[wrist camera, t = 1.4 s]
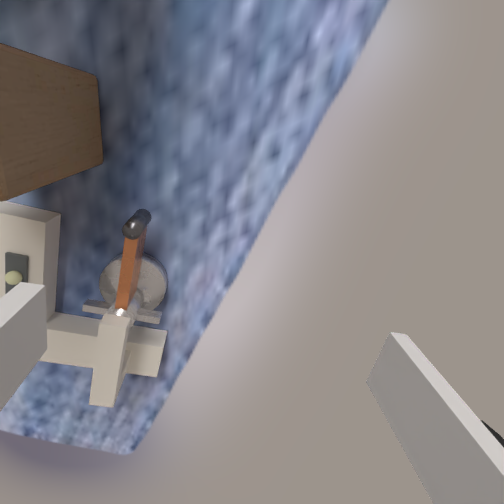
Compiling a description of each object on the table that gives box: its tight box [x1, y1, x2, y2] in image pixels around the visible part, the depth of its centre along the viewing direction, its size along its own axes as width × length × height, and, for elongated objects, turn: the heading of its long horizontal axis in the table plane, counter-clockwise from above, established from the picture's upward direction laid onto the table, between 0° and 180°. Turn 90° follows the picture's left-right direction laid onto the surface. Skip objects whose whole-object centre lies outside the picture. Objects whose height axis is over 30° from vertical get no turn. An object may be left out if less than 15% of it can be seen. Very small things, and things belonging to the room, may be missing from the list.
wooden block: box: [0, 43, 103, 202], centre depth 28 cm, size 10×10×20 cm
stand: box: [0, 201, 167, 407], centre depth 40 cm, size 22×33×12 cm, turn 74°
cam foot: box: [82, 209, 168, 333], centre depth 41 cm, size 18×10×9 cm, turn 164°
